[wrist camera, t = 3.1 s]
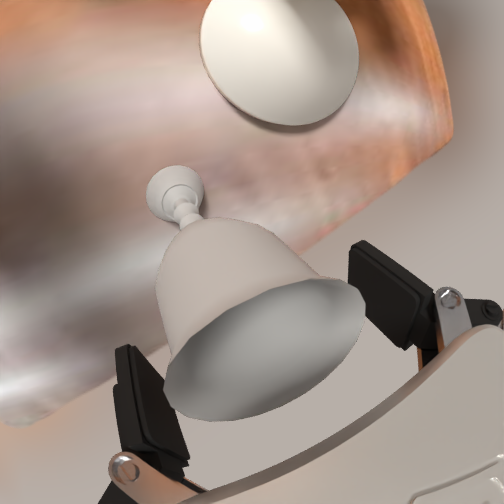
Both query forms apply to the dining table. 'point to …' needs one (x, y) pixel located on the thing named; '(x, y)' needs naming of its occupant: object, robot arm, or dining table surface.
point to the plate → (280, 57)
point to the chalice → (242, 310)
